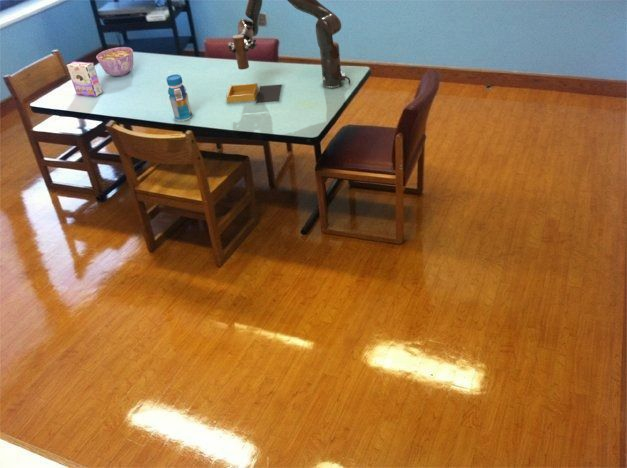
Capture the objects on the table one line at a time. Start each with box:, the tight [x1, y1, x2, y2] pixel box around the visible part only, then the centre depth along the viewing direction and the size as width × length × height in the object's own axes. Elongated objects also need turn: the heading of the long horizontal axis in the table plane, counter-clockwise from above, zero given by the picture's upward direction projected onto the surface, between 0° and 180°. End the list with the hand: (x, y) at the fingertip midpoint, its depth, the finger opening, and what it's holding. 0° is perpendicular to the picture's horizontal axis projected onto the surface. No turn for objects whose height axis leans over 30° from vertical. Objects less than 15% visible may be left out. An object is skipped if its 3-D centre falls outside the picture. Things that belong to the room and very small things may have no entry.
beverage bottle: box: [166, 73, 193, 122], centre depth 276 cm, size 8×8×20 cm
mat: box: [255, 84, 283, 104], centre depth 293 cm, size 11×20×1 cm, turn 178°
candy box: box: [66, 61, 104, 98], centre depth 312 cm, size 14×6×16 cm, turn 65°
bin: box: [226, 82, 259, 103], centre depth 293 cm, size 14×14×4 cm
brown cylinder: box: [232, 33, 250, 71], centre depth 281 cm, size 5×5×15 cm
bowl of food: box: [95, 46, 134, 77], centre depth 333 cm, size 20×20×12 cm
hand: (239, 50), depth 278 cm, fingers closed on brown cylinder, 5 cm apart
